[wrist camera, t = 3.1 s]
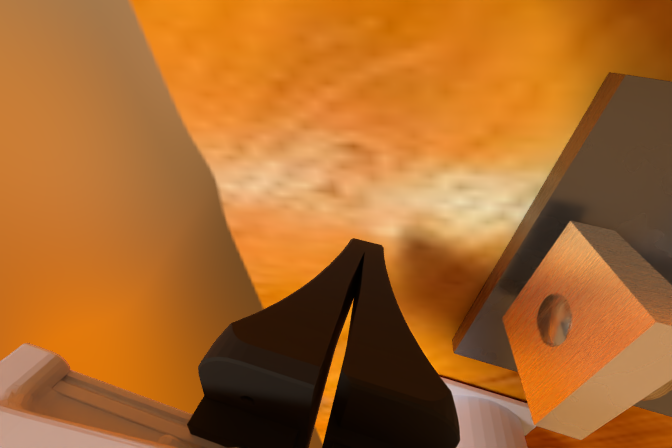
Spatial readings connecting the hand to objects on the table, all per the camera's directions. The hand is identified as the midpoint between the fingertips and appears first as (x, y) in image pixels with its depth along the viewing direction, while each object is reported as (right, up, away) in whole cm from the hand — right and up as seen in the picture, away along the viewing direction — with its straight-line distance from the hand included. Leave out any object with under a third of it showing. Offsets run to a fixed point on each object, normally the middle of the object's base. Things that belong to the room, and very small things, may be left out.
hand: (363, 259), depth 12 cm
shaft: (+14, -2, 0) cm, 14 cm away
